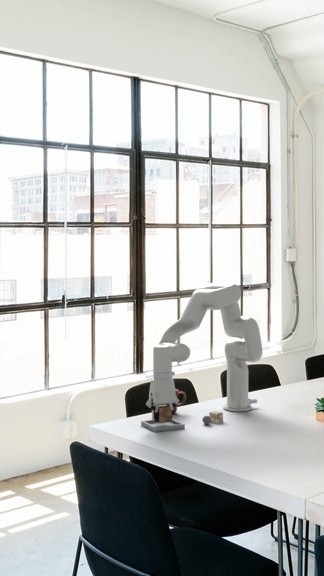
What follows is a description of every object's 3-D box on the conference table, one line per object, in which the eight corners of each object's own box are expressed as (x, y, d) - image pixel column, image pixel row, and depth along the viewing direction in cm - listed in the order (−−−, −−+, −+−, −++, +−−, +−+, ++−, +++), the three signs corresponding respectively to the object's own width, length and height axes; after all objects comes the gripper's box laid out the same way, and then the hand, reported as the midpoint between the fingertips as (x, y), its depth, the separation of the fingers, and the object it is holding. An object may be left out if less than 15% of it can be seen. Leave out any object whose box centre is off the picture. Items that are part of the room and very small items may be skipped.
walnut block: (165, 419, 293) (165, 404, 293) (171, 421, 289) (171, 407, 288) (154, 420, 291) (154, 405, 290) (160, 423, 286) (160, 408, 286)
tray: (169, 421, 298) (169, 417, 298) (184, 428, 287) (184, 424, 287) (141, 425, 292) (141, 420, 292) (155, 432, 281) (155, 427, 281)
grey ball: (208, 423, 296) (208, 414, 296) (212, 424, 293) (212, 416, 293) (200, 423, 295) (200, 415, 294) (205, 425, 291) (205, 417, 291)
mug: (157, 415, 311) (157, 391, 310) (159, 410, 319) (159, 387, 319) (185, 415, 309) (185, 392, 309) (186, 411, 318) (186, 388, 318)
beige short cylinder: (162, 418, 305) (162, 406, 305) (168, 421, 300) (168, 409, 300) (149, 419, 303) (149, 408, 302) (156, 422, 297) (156, 410, 297)
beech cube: (216, 420, 302) (216, 410, 301) (223, 421, 299) (223, 412, 299) (209, 421, 299) (209, 412, 299) (216, 423, 296) (216, 413, 296)
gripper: (176, 372, 296) (177, 416, 297) (139, 376, 288) (139, 420, 289) (185, 375, 289) (185, 420, 290) (147, 379, 281) (148, 425, 282)
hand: (162, 420), depth 290 cm, fingers closed on walnut block, 4 cm apart
